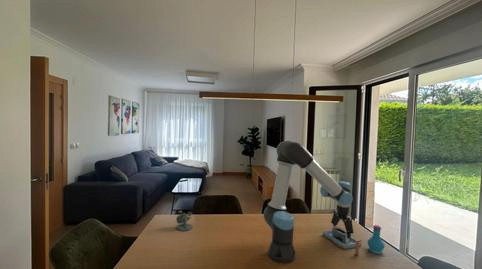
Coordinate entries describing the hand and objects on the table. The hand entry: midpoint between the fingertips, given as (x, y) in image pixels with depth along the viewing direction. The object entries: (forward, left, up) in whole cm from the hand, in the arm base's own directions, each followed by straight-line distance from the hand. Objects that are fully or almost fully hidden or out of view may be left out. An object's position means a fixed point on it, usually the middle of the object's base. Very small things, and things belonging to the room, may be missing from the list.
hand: (341, 238), depth 159 cm
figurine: (-96, +44, -1) cm, 106 cm away
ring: (0, 0, 0) cm, 0 cm away
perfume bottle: (+11, -17, -1) cm, 20 cm away
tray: (0, 0, -1) cm, 1 cm away
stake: (-4, -17, -1) cm, 17 cm away
